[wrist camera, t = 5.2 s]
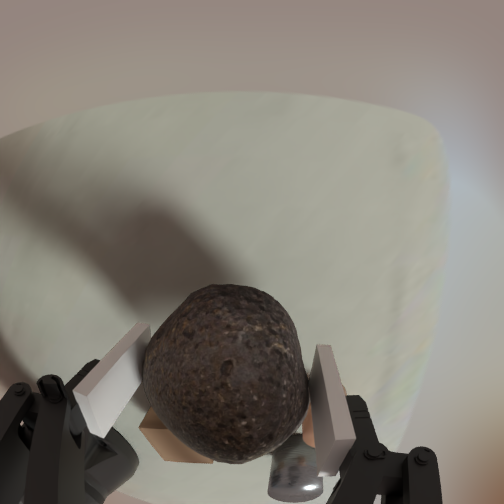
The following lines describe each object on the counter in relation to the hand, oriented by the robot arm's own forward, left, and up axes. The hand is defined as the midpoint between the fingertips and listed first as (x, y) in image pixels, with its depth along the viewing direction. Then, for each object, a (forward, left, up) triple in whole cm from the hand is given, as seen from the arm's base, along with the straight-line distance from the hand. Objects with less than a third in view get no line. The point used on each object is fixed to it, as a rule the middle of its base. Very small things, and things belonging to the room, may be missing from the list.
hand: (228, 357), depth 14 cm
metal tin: (+6, -16, -6) cm, 18 cm away
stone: (0, 0, -1) cm, 1 cm away
